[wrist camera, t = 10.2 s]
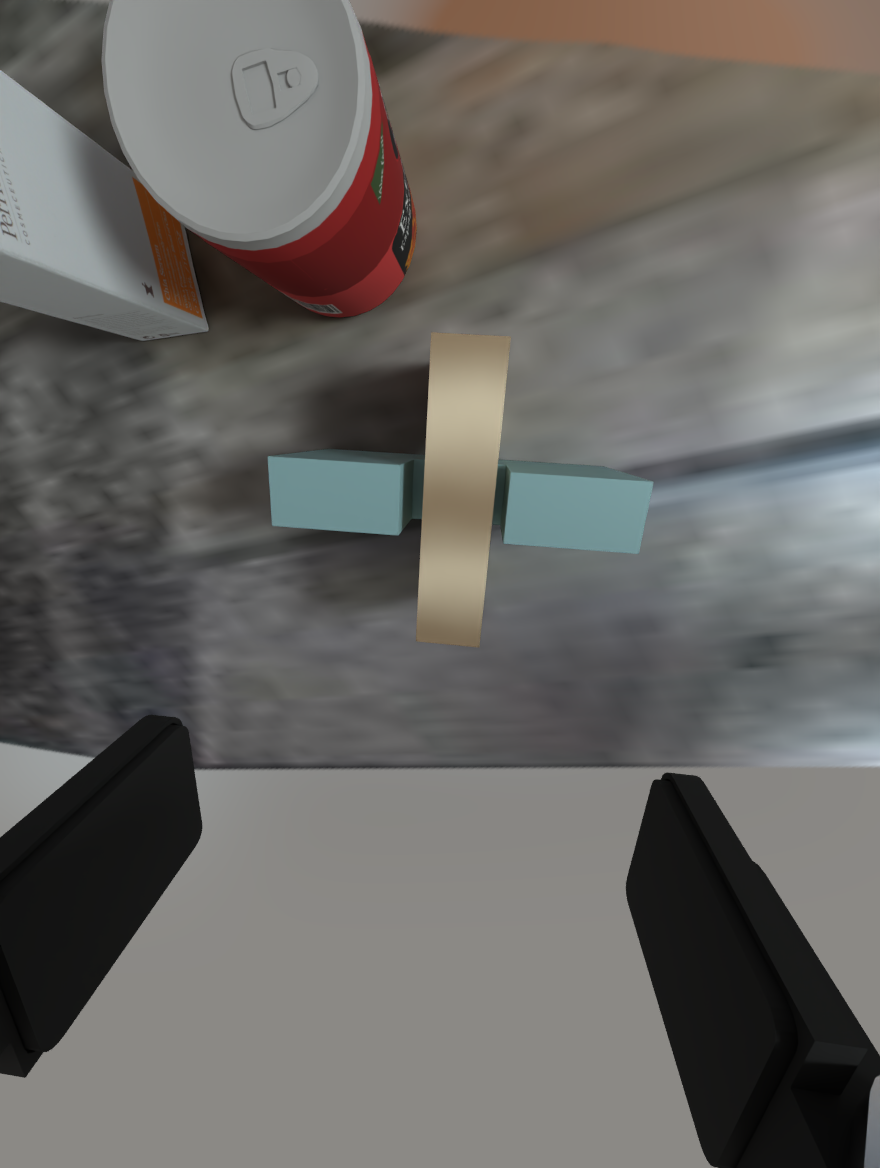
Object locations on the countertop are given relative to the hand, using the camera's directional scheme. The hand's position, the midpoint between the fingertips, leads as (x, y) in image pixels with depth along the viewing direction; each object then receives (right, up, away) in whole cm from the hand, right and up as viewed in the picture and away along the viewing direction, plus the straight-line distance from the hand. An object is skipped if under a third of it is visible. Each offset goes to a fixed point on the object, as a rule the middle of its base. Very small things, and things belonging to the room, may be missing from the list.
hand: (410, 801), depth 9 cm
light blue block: (+2, +10, +18) cm, 21 cm away
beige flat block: (+2, +10, +18) cm, 20 cm away
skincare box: (-14, +21, +16) cm, 30 cm away
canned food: (-4, +22, +14) cm, 27 cm away
